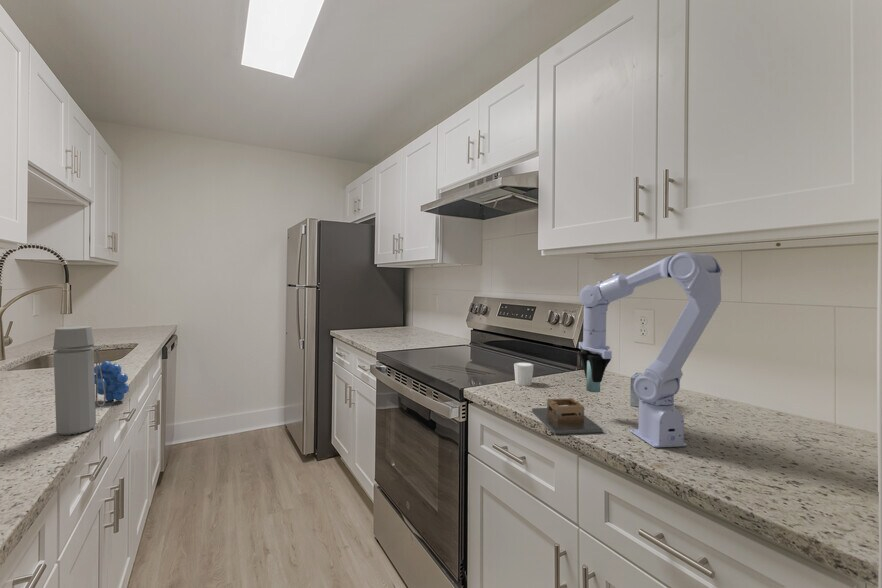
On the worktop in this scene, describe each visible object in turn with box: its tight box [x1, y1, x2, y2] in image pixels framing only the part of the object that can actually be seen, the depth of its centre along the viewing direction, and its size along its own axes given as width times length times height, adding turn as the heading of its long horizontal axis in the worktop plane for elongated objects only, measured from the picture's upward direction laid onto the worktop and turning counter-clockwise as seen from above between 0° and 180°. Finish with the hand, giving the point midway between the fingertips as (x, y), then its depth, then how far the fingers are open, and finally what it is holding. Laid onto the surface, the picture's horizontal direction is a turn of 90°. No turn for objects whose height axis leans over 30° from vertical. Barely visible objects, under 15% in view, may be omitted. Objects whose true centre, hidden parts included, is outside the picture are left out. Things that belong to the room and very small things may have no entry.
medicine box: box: [629, 372, 644, 408], centre depth 118 cm, size 8×4×9 cm, turn 143°
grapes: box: [94, 360, 130, 402], centre depth 116 cm, size 12×7×12 cm, turn 82°
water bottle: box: [52, 325, 106, 436], centre depth 95 cm, size 9×8×25 cm
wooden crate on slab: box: [531, 397, 603, 435], centre depth 103 cm, size 16×12×5 cm
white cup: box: [513, 361, 534, 387], centre depth 140 cm, size 7×7×7 cm
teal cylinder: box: [585, 360, 601, 393], centre depth 107 cm, size 4×4×8 cm
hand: (593, 379), depth 107 cm, fingers closed on teal cylinder, 3 cm apart
